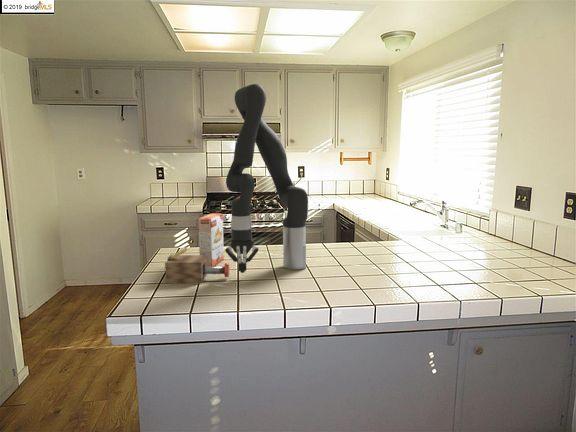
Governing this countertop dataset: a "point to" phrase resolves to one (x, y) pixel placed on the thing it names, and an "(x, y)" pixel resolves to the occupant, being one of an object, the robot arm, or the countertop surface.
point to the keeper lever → (177, 254)
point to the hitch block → (185, 269)
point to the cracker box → (211, 238)
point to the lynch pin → (217, 270)
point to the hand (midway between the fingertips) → (242, 272)
